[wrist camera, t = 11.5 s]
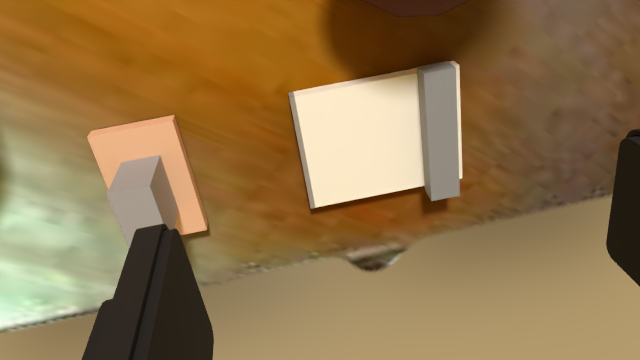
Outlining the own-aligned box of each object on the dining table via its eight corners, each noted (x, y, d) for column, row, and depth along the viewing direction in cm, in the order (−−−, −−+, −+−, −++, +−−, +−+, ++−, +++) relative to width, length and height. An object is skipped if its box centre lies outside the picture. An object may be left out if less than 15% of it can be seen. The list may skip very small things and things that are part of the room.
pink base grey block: (174, 114, 41) (163, 148, 35) (207, 222, 45) (202, 266, 40) (91, 130, 40) (67, 167, 35) (133, 237, 45) (118, 283, 40)
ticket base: (453, 54, 41) (467, 65, 39) (457, 176, 46) (470, 193, 44) (286, 86, 41) (289, 99, 38) (310, 206, 46) (314, 224, 43)
